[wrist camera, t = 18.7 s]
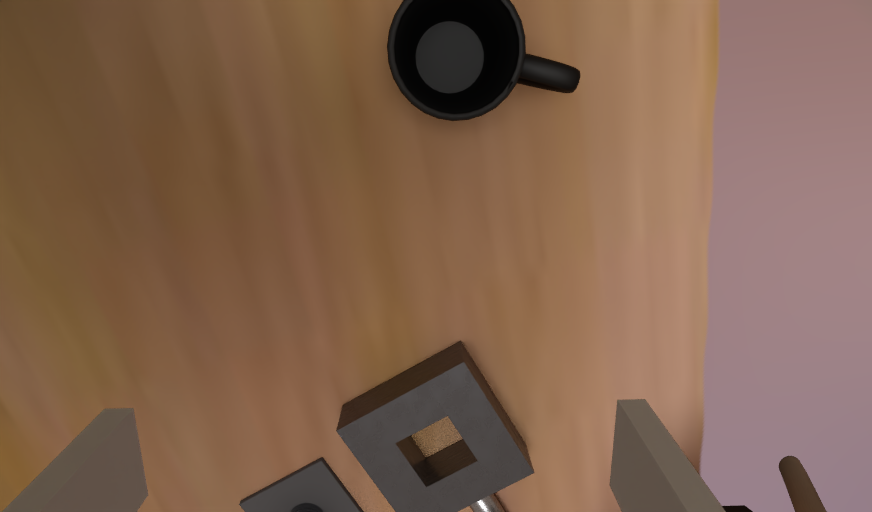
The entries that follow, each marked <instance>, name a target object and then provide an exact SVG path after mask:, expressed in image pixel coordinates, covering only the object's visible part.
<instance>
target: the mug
mask: <svg viewBox="0 0 872 512" xmlns="http://www.w3.org/2000/svg"><path fill="white" fill-rule="evenodd" d="M387 50H388V62H389V66H390V69H391V72H392V76H393V79H394V80H395V82H396V84H397V86H398V87H399V89H400V91H401V93H402V94H403V95H404V96H405V97H406V98H407V99H408V100H409V101H410V103H411V104H413V105H414V106H415V107H417V108H418V109H420V110H421V111H422V112H424V113H426V114H429V115H431V116H433V117H436V118H438V119H445V120H451V121H458V120H469V119H472V118H475V117H479V116H482V115H484V114H486V113H487V112H489V111H491V110H493V109H494V108H496V107H497V106H498V105H499V104H500V103H501V102H502V101H503V100H505V99H506V98H507V97H508V95H509V94H510V92H511V91H512V89H513V88H514V87H515V85H516V84H517V83H518V84H523V85H527V86H532V87H537V88H541V89H546V90H551V91H556V92H562V93H572V92H574V90H575V89H576V88H577V85H578V83H579V80H580V71H579V70H578V69H576V68H574V67H572V66H569V65H566V64H563V63H560V62H556V61H553V60H549V59H545V58H541V57H538V56H534V55H530V54H526V50H525V34H524V30H523V25H522V21H521V19H520V17H519V15H518V13H517V11H516V9H515V7H514V5H513V4H512V3H511V1H510V0H403V2H402V4H401V5H400V7H399V8H398V10H397V12H396V13H395V15H394V18H393V21H392V24H391V26H390V29H389V36H388V44H387Z"/></svg>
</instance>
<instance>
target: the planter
mask: <svg viewBox="0 0 872 512" xmlns="http://www.w3.org/2000/svg"><path fill="white" fill-rule="evenodd" d="M779 470H780V472H781V475H782V477H783V479H784V482H785V485H786V487H787V490H788V493H789V496H790V498H791V501H792V504H793V507H794V509H795V512H826V510H825V508H824V506H823V504H822V502H821V500H820V498H819V496H818V494H817V492H816V490H815V488H814V486H813V484H812V482H811V480H810V478H809V477H808V474H807V472H806V471H805V469H804V468H803V466H802V464H801V463H800V461H799V460H798V459H797V458H796V457H794V456H787V457H784V458H783V459H782V460H781V461H780V463H779Z"/></svg>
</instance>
